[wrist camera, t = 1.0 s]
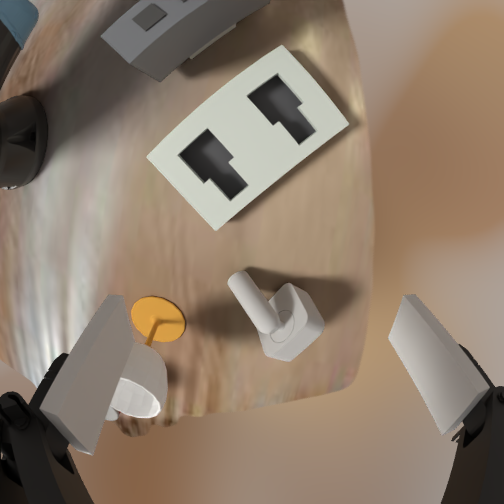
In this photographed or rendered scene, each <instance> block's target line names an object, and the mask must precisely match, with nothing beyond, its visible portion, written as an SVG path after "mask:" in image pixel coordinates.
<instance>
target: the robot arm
mask: <svg viewBox="0 0 504 504" xmlns="http://www.w3.org/2000/svg"><path fill="white" fill-rule="evenodd" d="M38 17H39V13H38V10H37V8H36V7H35V6H34V5H33V4H32V3H31V2H30V1H28V0H0V90H1V88H2V85H3V83H4V81H5V79H6V77H7V75H8V73H9V71H10V69H11V67H12V65H13V63H14V62H15V60H16V58H17V56H18V55H19V53H20V51H21V50H23V48H24V44H25V42H26V40H27V38H28V37H29V35H30V33H31V31H32V30H33V28H34V27H35V25H36V23H37V21H38ZM47 136H48V128H47V119H46V115H45V112H44V109H43V107H42V105H41V104H40V102H39V101H38V100H37V99H35V98H34V97H31V96H14V97H11V98H9V99H7V100H6V101H3V102H1V103H0V188H2V189H7V190H11V189H16V188H19V187H21V186H24V185H26V184H28V183H29V182H30V181H31V180H32V179H33V178H34V177H35V175H36V174H37V172H38V170H39V168H40V166H41V164H42V161H43V159H44V155H45V151H46V146H47ZM388 339H389V341H390V342H391V344H392V345H393V347H394V349H395V350H396V352H397V354H398V355H399V357H400V359H401V361H402V362H403V364H404V366H405V367H406V369H407V371H408V373H409V374H410V376H411V378H412V380H413V381H414V383H415V385H416V387H417V389H418V390H419V392H420V394H421V396H422V398H423V399H424V401H425V403H426V405H427V407H428V409H429V411H430V413H431V415H432V417H433V418H434V420H435V422H436V424H437V426H438V428H439V430H440V432H441V434H442V435H444V434H446V433H448V432H451V431H453V430H455V428H456V427H457V426H458V425H459V424H460V423H461V422H463V424H464V426H463V427H462V428H461V429H460V431H458V432H457V433H456V434H455V436H453V438H452V440H451V441H454V440H455V439H456V438H457V437H458V436H459V435H460V436H459V439H458V440H457V441H456V442H457V443H458V446H457V451H456V455H455V459H454V463H453V467H452V471H451V474H450V478H449V481H448V484H447V487H446V490H445V493H444V496H443V499H442V502H441V504H504V387H503V386H498V387H495V386H494V385H493V383H492V382H491V380H490V379H489V378H488V376H487V375H486V374H485V372H484V371H483V369H482V368H481V367H480V365H478V363H477V361H476V360H475V359H473V357H472V355H471V354H470V353H469V351H468V350H467V349H466V348H464V347H463V346H461V345H460V344H457V342H456V341H455V340H454V339H453V337H452V336H451V335H450V334H449V333H448V331H447V330H446V329H445V328H444V327H443V325H442V324H441V323H440V322H439V321H438V319H437V318H436V317H435V316H434V315H433V314H432V313H431V311H430V310H429V309H428V308H427V307H426V306H425V305H424V304H423V302H422V301H421V300H420V299H419V298H418V297H417V296H416V295H415V294H411V295H403V298H402V301H401V304H400V307H399V311H398V313H397V316H396V319H395V321H394V324H393V327H392V329H391V332H390V334H389V337H388ZM134 343H135V340H134V336H133V333H132V329H131V325H130V322H129V318H128V314H127V310H126V306H125V302H124V298H123V296H121V295H108V296H107V297H106V299H105V300H104V302H103V303H102V305H101V306H100V308H99V309H98V310H97V312H96V313H95V315H94V316H93V318H92V319H91V321H90V322H89V324H88V325H87V327H86V328H85V330H84V332H83V333H82V335H81V336H80V338H79V339H78V341H77V343H76V344H75V346H74V347H73V349H72V351H71V352H70V354H66V353H62V354H61V355H60V356H59V357H57V358H56V359H55V360H54V361H53V363H52V364H51V366H50V368H49V369H48V370H49V371H48V372H47V373H46V374H45V376H44V379H42V381H41V383H40V385H39V386H38V388H37V390H36V392H35V394H34V395H33V397H32V399H31V401H30V403H29V405H28V404H27V403H26V402H25V400H24V399H23V398H22V396H20V395H19V394H18V393H16V392H13V391H12V392H7V393H5V394H3V395H2V396H1V397H0V504H94V502H93V501H92V499H91V497H90V495H89V493H88V491H87V489H86V487H85V485H84V483H83V481H82V480H81V477H80V475H79V473H78V471H77V469H76V466H75V464H74V461H73V459H72V457H71V454H70V452H69V451H68V449H67V447H68V445H69V443H70V444H71V445H72V446H73V447H74V448H75V449H76V450H78V451H81V452H84V453H87V454H90V455H93V454H94V451H95V448H96V445H97V441H98V438H99V435H100V432H101V429H102V426H103V423H104V421H105V418H106V415H107V412H108V409H109V406H110V404H111V401H112V398H113V396H114V393H115V390H116V388H117V385H118V382H119V380H120V377H121V375H122V372H123V370H124V367H125V365H126V362H127V360H128V357H129V355H130V353H131V350H132V348H133V345H134ZM1 453H2V454H3V457H2V459H1Z"/></svg>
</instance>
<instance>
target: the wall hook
mask: <svg viewBox="0 0 504 504" xmlns="http://www.w3.org/2000/svg"><path fill="white" fill-rule="evenodd" d="M228 286H229V287H230V289H231V290H232V292H233V293H234V295H235V296H236V298H237V299H238V301H239V302H240V304H241V305H242V307H243V308H244V310H245V311H246V313H247V314H248V316H249V317H250V319H251V320H252V322H253V323H254V325H255V326H256V328H257V331H258V334H259V337H260V341H261V344H262V347H263V350H264V353H265V355H266V356H268V357H272V358H275V359H279V360H283V361H287V362H289V361H291V360H293V359H294V358H295V357H296V356H297V355H299V354H300V353H301V352H302V351H303V350H304V349H305V348H307V347H308V346H309V345H310V344H311V343H312V342H313V341H314V340H315V339H316V338H317V337H319V336H320V335H321V333H322V332H323V330H324V326H325V324H324V320H323V318H322V316H321V315H320V313H319V311H318V309H317V308H316V306H315V304H314V302H313V301H312V299H311V297H310V296H309V294H308V293H307V292H305V291H304V290H302V289H300V288H298V287H296V286H294V285H292V284H291V283H286V284H284V285H283V286H282V287H281V288H280V289H279V290H278V291H277V292H276V294H275V295H274V296H273V297H272V298H271V299H270V300H269V301H267V299H266V298H265V297H264V295H263V294H262V292H261V291H260V290H259V288H258V287H257V286H256V284H255V283H254V281H253V280H252V279H251V277H250V276H249V275H248V273H247V272H246V271H239V272H237V273H235V274H233V275H232V276H231V277H230V278H229V280H228Z"/></svg>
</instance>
